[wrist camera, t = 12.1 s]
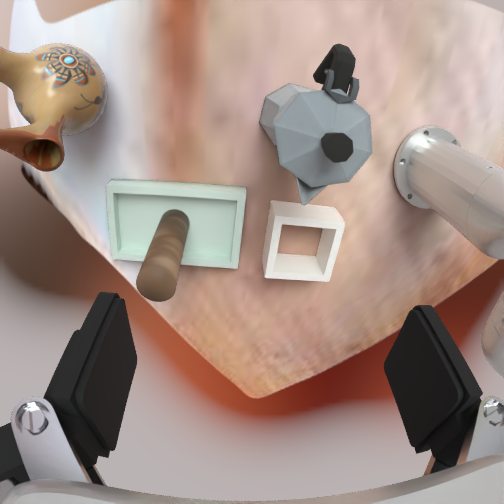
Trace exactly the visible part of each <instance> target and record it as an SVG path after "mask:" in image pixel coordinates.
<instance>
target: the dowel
mask: <svg viewBox="0 0 504 504" xmlns="http://www.w3.org/2000/svg"><path fill="white" fill-rule="evenodd" d="M189 225H190V222H189V218H188V216H187V215H186V214H185V213H184V212H182V211H180V210H177V209H172V210H168V211H166V212H165V213H164V214H163V215H162V217H161V219H160V222H159V224H158V227H157V229H156V231H155V234H154V236H153V239H152V241H151V244H150V246H149V249H148V251H147V254H146V256H145V259H144V261H143V264H142V266H141V269H140V272H139V274H138V277H137V280H136V285H137V289H138V291H139V292H140V293H141V295H143V296H144V297H145V298H147V299H149V300H152V301H156V302H161V301H166V300H168V299H170V298H171V297H172V296H173V295H174V293H175V290H176V285H177V280H178V275H179V271H180V266H181V261H182V256H183V252H184V247H185V243H186V238H187V234H188V230H189Z"/></svg>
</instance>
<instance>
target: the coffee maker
mask: <svg viewBox="0 0 504 504" xmlns="http://www.w3.org/2000/svg"><path fill="white" fill-rule="evenodd" d="M355 60H356V59H355V57H354V55H353V54H352V52H351V51H350V49H349V47H347V46H344V45H342V44H336V45H334V46H333V47H332V48H331V50H330V51H329V53H328V54H327V56H326V57H325V58H324V60H323V61H322V63H321V64H320V66H319V67H318V68H317V70H316V71H315V73H314V74H313V77H314V80H315V82H317V83H320V84H324V85H323V87H322V90H320V91H315V90H312V89H308V88H305V87H301V86H298V85H294V84H290V83H289V84H287V85H285V86H283V87H281V88H280V89H278V90H276V91H274V92H273V93H271V94H269V95H267V96H266V97H265V101H264V105H263V109H262V113H261V117H260V121H259V123H260V124H261V126H262V127H263V129H264V130H265V132H266V134H267V135H268V137H269V138H270V140H271V141H272V143H273V144H274V145H277V151H278V158H279V164H280V165H281V166H282V167H284V168H285V169H287V170H288V171H289V172H291V173H292V174H294V175H295V176H296V181H297V186H298V191H299V195H300V200H301V205H304V206H305V205H306V204H307V203H308V202H309V201H310V200H312V199H313V198H314V197H315V196H316V195H317V194H318V193H319V192H321V191H322V190H323V189H324V188H325V187H326V186H327V185H331V184H338V183H345V182H349V181H350V180H351V179H352V177H353V176H354V175H355V174H356V173H357V171H358V170H359V169H360V168H361V166H362V165H363V164H364V163H365V162H366V160H367V159H368V158H369V157H370V155H371V154H372V135H371V121H370V115H369V114H368V113H367V112H366V111H365V110H364V109H363V108H362V107H361V106H359V105H358V104H357V103H356V102H355V101H354V100H356V97H357V94H358V90H359V79H356V78H353V77H352V74H353V71H354V68H355ZM349 84H350V89H349V93H348V95H347V91H348V88H349Z"/></svg>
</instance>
